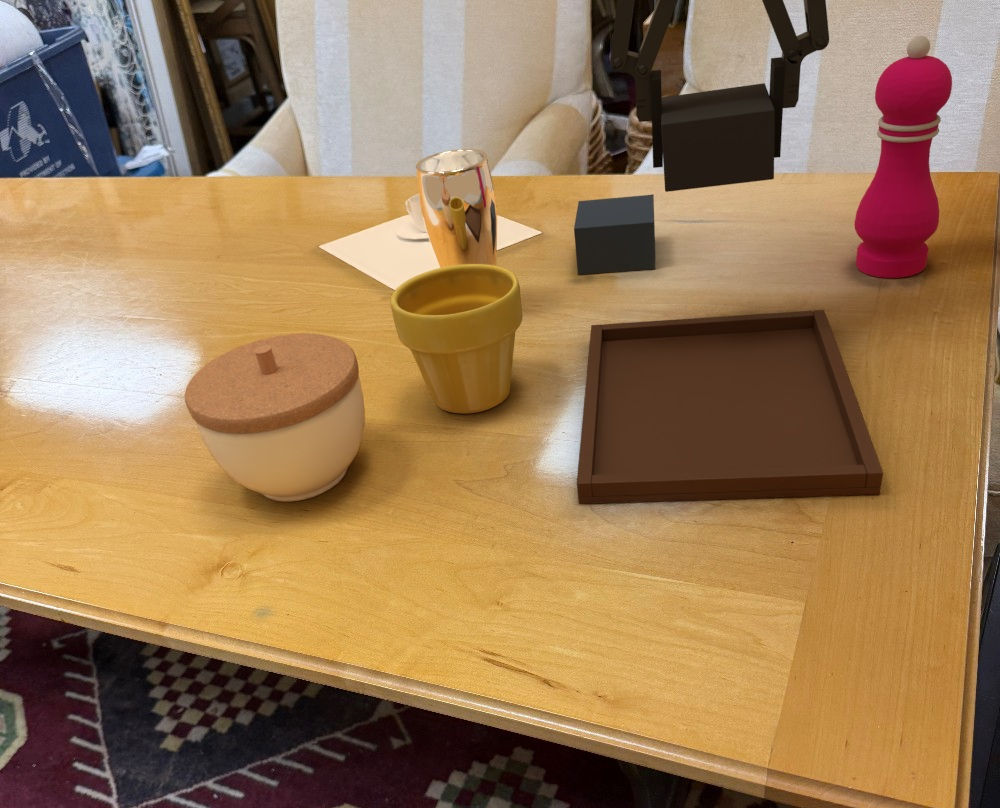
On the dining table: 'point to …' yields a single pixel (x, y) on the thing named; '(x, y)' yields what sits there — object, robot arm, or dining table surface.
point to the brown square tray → (721, 412)
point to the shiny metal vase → (459, 207)
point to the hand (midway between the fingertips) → (715, 156)
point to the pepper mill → (903, 166)
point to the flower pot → (461, 332)
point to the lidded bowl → (281, 413)
